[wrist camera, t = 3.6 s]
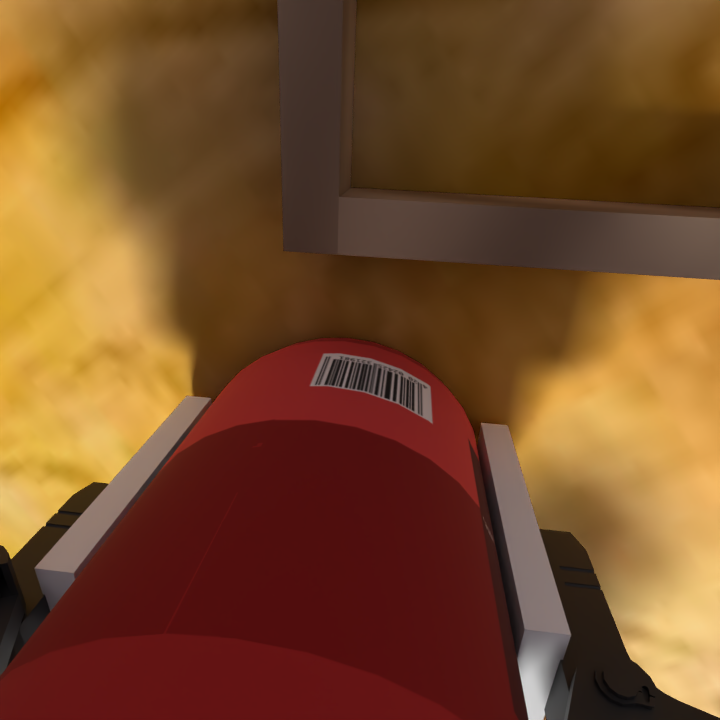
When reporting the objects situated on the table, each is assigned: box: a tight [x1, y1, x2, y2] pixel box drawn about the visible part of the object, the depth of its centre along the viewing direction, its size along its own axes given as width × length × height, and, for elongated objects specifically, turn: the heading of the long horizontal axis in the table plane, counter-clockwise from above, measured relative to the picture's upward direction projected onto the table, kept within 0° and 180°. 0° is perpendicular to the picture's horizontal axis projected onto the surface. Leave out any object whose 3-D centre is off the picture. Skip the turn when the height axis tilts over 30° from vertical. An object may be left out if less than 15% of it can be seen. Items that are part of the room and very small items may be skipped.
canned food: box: [0, 338, 529, 720], centre depth 10 cm, size 8×8×11 cm
